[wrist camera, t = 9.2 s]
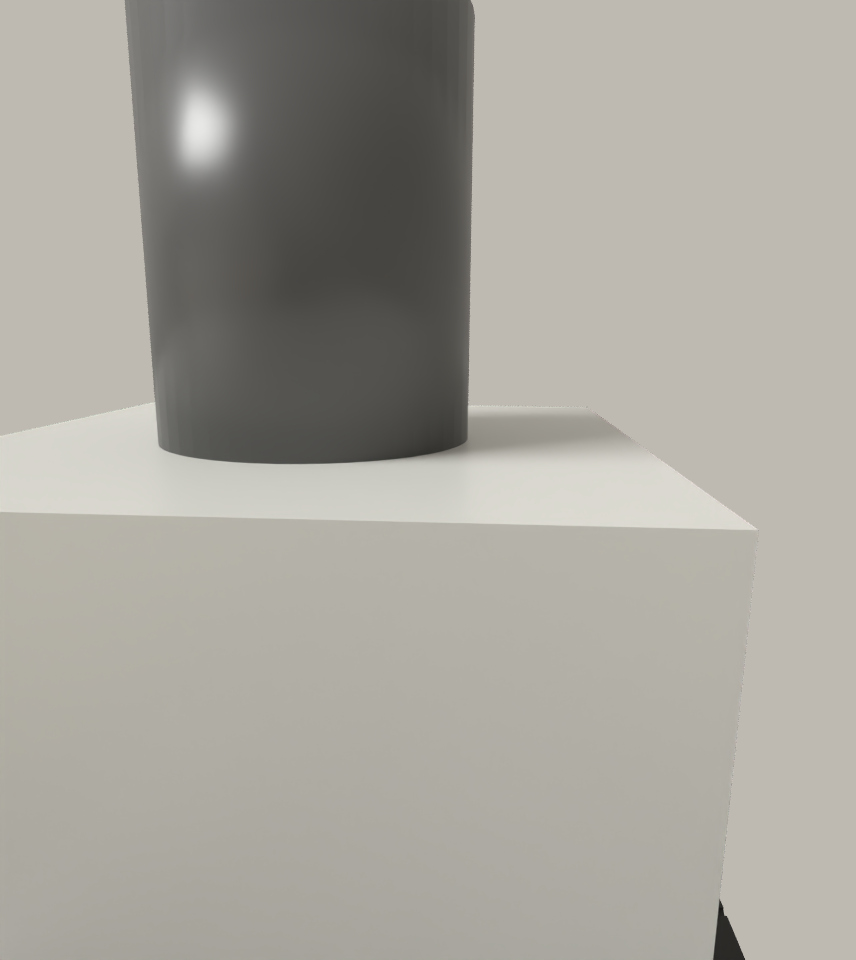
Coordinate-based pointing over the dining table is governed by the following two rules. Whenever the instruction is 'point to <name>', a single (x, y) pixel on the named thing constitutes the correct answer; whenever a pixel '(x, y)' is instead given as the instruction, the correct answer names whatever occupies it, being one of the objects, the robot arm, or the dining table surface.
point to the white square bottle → (348, 564)
